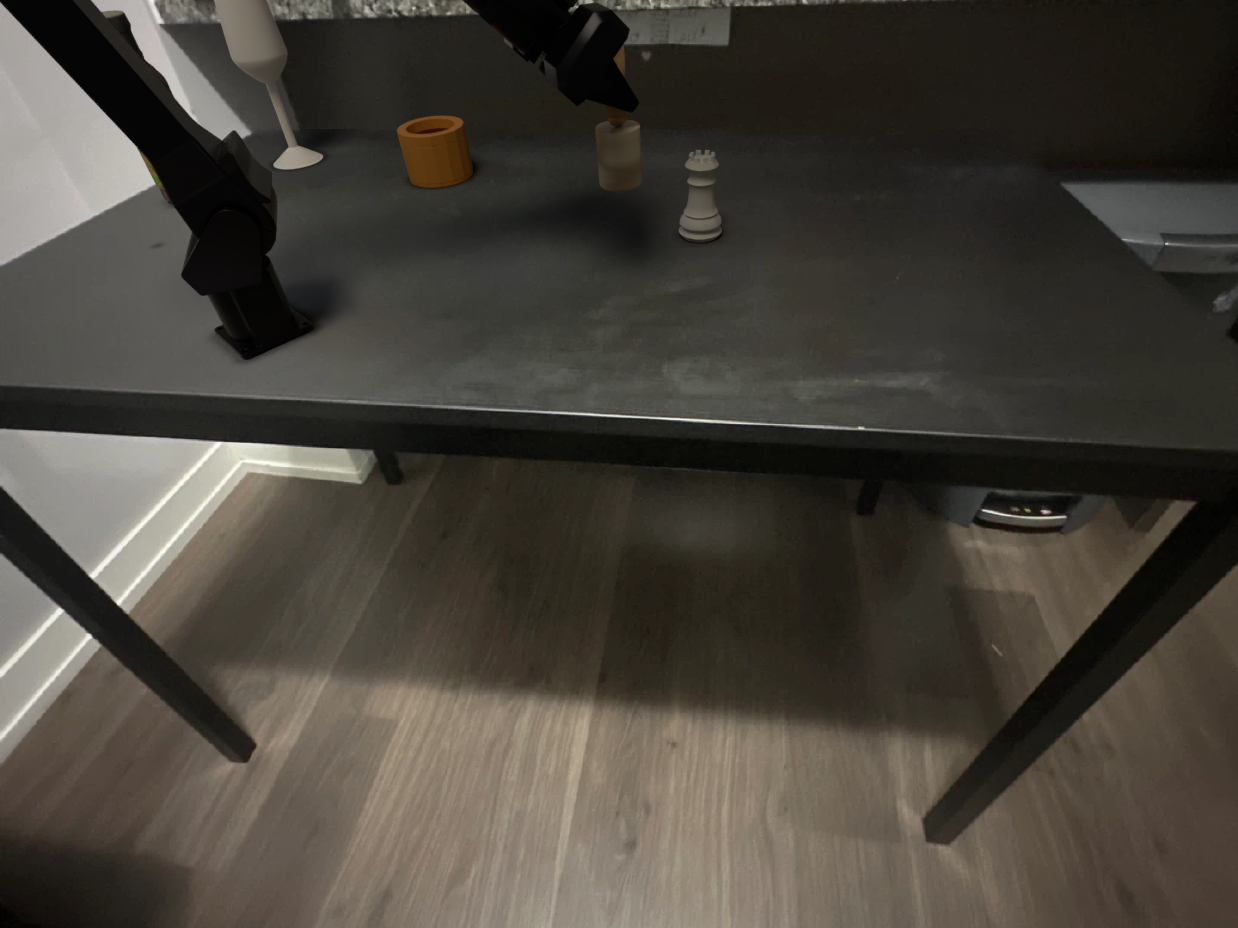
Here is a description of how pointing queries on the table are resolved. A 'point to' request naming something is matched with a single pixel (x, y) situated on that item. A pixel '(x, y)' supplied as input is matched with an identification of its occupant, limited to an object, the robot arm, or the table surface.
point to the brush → (619, 146)
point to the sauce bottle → (124, 29)
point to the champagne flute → (262, 63)
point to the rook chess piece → (701, 200)
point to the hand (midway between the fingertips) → (631, 104)
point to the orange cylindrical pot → (435, 151)
